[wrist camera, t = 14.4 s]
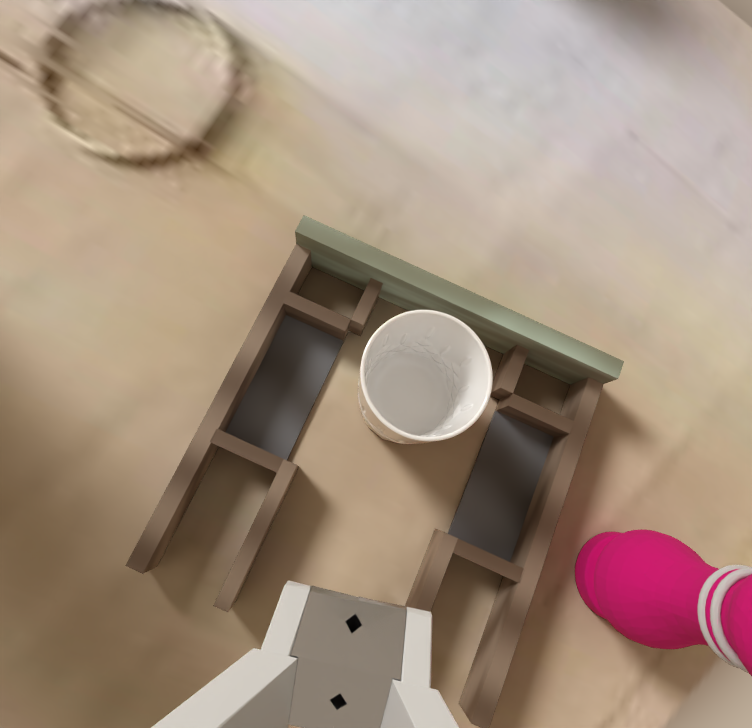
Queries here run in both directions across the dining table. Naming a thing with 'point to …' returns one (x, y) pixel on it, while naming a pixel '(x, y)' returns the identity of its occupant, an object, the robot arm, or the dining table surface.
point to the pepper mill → (667, 594)
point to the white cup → (423, 378)
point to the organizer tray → (490, 472)
